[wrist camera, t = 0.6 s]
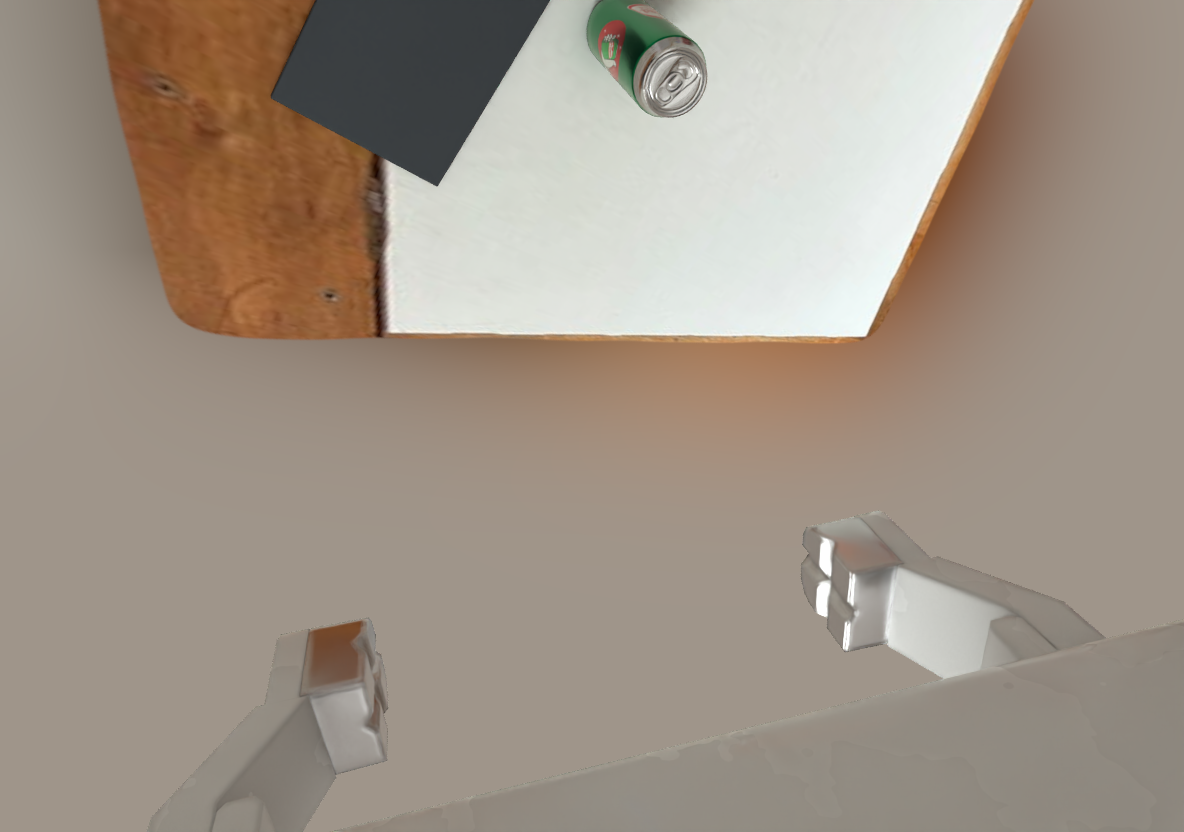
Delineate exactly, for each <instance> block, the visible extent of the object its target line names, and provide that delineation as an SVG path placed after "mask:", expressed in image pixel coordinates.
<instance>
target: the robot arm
mask: <svg viewBox="0 0 1184 832" xmlns="http://www.w3.org/2000/svg"><path fill="white" fill-rule="evenodd" d="M802 545H803V546H804V548H805V549H806V550H807V552H808V553H809V554H808V555H807V557H806V558H805V560H804V561H803V562H802V564H801V580H802V585H803V589H804V593H805V595H806V597H807V599H808V602H809V603H810V605H811V606H812V608H813V609H814V611H815V612H817V613H819V614H821V615H823V616H825V617H828V619H827V629H828V630H829V631H830V633H831V634H832V636H833V637H834V638H835V639H836V641H837V642H838V644H839V645H840V646H841V648H842V649H843V651H844V652H849V651H853V650H858V649H863V648H868V647H873V646H877V645H882V644H887V643H888V646H889V647H891V648H892V649H894V650H896V651H897V652H899V653H901V654H903V655H905V656H906V657H908V658H910V659H911V660H913V661H915V662H916V663H918V664H920V665H922V666H923V667H925V668H927V669H928V670H930V671H932V672H933V673H935V674H937V675H938V676H940V677H942V678H943V679H942V680H937V681H934V682H930V683H926V684H922V685H918V686H914V687H910V688H906V689H902V690H898V691H894V692H890V693H886V694H882V695H878V696H874V697H870V698H866V699H862V700H858V701H854V702H850V703H846V704H842V705H838V706H834V707H830V708H826V709H821V710H817V711H813V712H809V713H805V714H801V715H797V716H794V717H789V718H785V719H781V720H778V721H773V722H769V723H765V724H761V725H757V726H753V727H749V728H745V729H741V730H737V731H733V732H729V733H725V734H721V735H717V736H713V737H709V738H705V739H701V740H697V741H693V742H689V743H686V744H681V745H677V746H673V747H669V748H665V749H661V750H657V751H654V752H650V753H645V754H642V755H637V756H633V757H629V758H625V759H621V760H617V761H613V762H609V763H606V764H601V765H597V766H594V767H589V768H585V769H581V770H577V771H574V772H569V773H565V774H561V775H557V776H553V777H549V778H545V779H541V780H537V781H533V782H529V783H525V784H521V785H517V786H513V787H509V788H505V789H501V790H497V791H493V792H489V793H485V794H481V795H477V796H473V797H469V798H465V799H461V800H457V801H453V802H449V803H445V804H441V805H437V806H432V807H429V808H424V809H421V810H416V811H412V812H408V813H405V814H400V815H396V816H393V817H388V818H384V819H380V820H376V821H372V822H368V823H364V824H360V825H356V826H352V827H348V828H344V829H341V830H337V831H332V832H1184V619H1182V620H1178V621H1174V622H1171V623H1166V624H1162V625H1158V626H1154V627H1150V628H1146V629H1143V630H1138V631H1134V632H1130V633H1126V634H1123V635H1118V636H1114V637H1110V638H1105V637H1104V636H1103V635H1102V634H1101V633H1099V632H1098V631H1097V630H1096V629H1095V628H1094V627H1093V626H1091V625H1090V624H1089V623H1088V622H1087V621H1085V620H1084V619H1083V618H1082V617H1081V616H1080V615H1079V614H1077V613H1076V612H1075V611H1074V610H1073V609H1072V608H1070V607H1069V606H1068V605H1067V604H1066V603H1065V602H1063V601H1060V600H1058V599H1055V598H1052V597H1049V596H1046V595H1044V594H1041V593H1038V592H1035V591H1033V590H1030V589H1027V588H1024V587H1021V586H1018V585H1015V584H1013V583H1010V582H1008V581H1005V580H1002V579H999V578H996V577H994V576H991V575H988V574H985V573H982V572H980V571H977V570H974V569H971V568H969V567H966V566H963V565H960V564H957V563H954V562H952V561H949V560H946V559H943V558H941V557H933V558H930V557H929V556H928V555H927V554H926V553H925V552H924V551H923V550H922V549H921V548H920V547H919V546H918V545H917V544H916V543H915V542H914V541H913V540H912V539H911V538H910V537H909V536H908V535H907V534H906V533H905V532H904V531H903V530H902V529H901V528H899V526H897V525H896V524H895V523H894V522H893V521H892V520H891V519H890V518H889V517H888V516H887V515H886V514H885V513H883V512H880V511H875V512H870V513H866V514H862V515H857V516H854V517H852V518H847V519H843V520H838V521H833V522H828V523H824V524H819V525H814V526H810V527H806V529H805V531H804V533H803V544H802ZM375 644H376V634H375V631H374V628H373V624H372V621H371V620H370V619H369V618H365V619H359V620H354V621H348V622H342V623H337V624H332V625H326V626H321V627H315V628H311V629H307V630H301V631H296V632H291V633H286V634H281V636H280V637H279V638H278V640H277V643H276V648H275V653H274V659H273V663H272V669H271V673H270V678H269V684H268V689H267V694H266V699H265V704H264V705H261V706H257V707H255V708H254V709H253V710H252V711H251V712H250V714H249V715H247V717H246V718H245V719H244V720H243V721H242V722H241V723H240V724H239V725H238V726H237V727H236V728H235V729H234V730H233V731H232V733H231V734H230V735H229V736H228V737H227V738H226V739H225V740H224V741H223V742H222V743H221V744H220V745H219V746H218V748H216V749H215V751H214V752H213V753H212V754H211V755H210V756H209V757H208V758H207V759H206V760H205V761H204V762H203V763H202V764H201V766H200V767H199V768H198V769H197V770H196V771H195V772H194V773H193V774H192V775H191V776H190V777H189V778H188V779H187V780H186V781H185V782H184V783H183V785H182V786H181V787H180V788H179V789H178V790H177V791H176V792H175V793H174V794H173V795H172V796H171V797H170V798H169V799H168V800H167V801H166V803H165V804H164V805H163V806H162V807H161V808H160V809H159V810H158V811H157V812H156V813H155V814H154V815H153V816H152V817H151V820H150V823H149V826H148V830H147V832H303V830H304V829H305V827H306V825H307V824H308V822H309V821H310V819H311V817H312V816H313V814H314V813H315V811H316V809H317V808H318V806H319V804H320V803H321V801H322V799H323V798H324V796H325V795H326V793H327V791H328V790H329V788H330V787H331V785H332V783H333V782H334V780H335V779H336V776H335V775H336V774H340V773H344V772H348V771H351V770H355V769H359V768H363V767H366V766H370V765H374V764H378V763H381V762H385V761H387V744H388V743H387V742H388V739H387V738H388V728H387V725H386V721H385V717H384V713H385V711H386V710H387V709H388V692H387V681H386V675H385V669H384V664H383V660H382V656H381V654H380V653H378V652H377V651H375V646H376V645H375Z"/></svg>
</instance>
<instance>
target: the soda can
mask: <svg viewBox="0 0 1184 832" xmlns="http://www.w3.org/2000/svg"><path fill="white" fill-rule="evenodd" d="M587 41H588V45H589V48H590V50H591V52H592V54H593V55H594V56H595V57H596V59H597V60H598V61H599V62H600V63H601V64H602V65H603V66H604V67H605V69H606V70H607V71H608V72H609V73H610V74H611V75H612V76H613V78H614V79H615V80H616V81H617V82H618V83H619V84H620V85H621V86H622V88H623V89H624V90H625V91H626V92H627V93H628V94H629V95H630V97H631V98H632V99H633V100H634V101H635V102H636V103H637V104H638V105H639V107H640V108H641V109H642V110H644V111H645V112H646V113H648V114H650V115H652V116H655V117H668V118H669V117H677V116H680V115H683V114H685V113H687V112H688V111H689V110H691V109H692V108H693V107H694V106H695V105H696V104H697V103H698V102H699V100H700V99H701V97H702V95H703V93H704V91H705V87H706V83H707V69H706V61H705V57H704V54H703V52H702V50H701V49H700V47H699V46H698V45H697V44H696V43H695V42H694V41H693V40H692V39H691V38H689V37H688V36H687V35H686V34H684V33H683V32H682V31H681V30H679V29H678V28H677V27H676V26H674V25H673V24H672V23H671V22H670V21H668V20H667V19H666V18H665V17H663V16H662V15H661V14H660V13H658V12H657V11H656V10H655V9H653V8H652V7H651V6H650V5H648V4H647V3H646V2H645V1H644V0H601V1H600V2H599V3H598V4H597V6H596V7H595V8H594V10H593V11H592V13H591V15H590V18H589V21H588V25H587Z"/></svg>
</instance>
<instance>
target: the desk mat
mask: <svg viewBox="0 0 1184 832" xmlns="http://www.w3.org/2000/svg"><path fill="white" fill-rule="evenodd" d="M549 1H550V0H316V1H315V3H314V5H313V7H312V9H311V11H310V13H309V15H308V18H307V20H306V22H305V24H304V26H303V28H302V30H301V32H300V35H299V37H298V39H297V41H296V43H295V45H294V47H293V49H292V52H291V54H290V56H289V58H288V60H287V62H286V64H285V66H284V69H283V71H282V73H281V75H280V77H279V79H278V81H277V83H276V86H275V88H274V90H273V92H272V94H271V98H272V99H273V100H275V101H277V102H279V103H281V104H283V105H285V106H286V107H288V108H290V109H292V110H294V111H296V112H298V113H300V114H301V115H303V116H305V117H307V118H309V119H311V120H313V121H315V122H317V123H318V124H320V125H322V126H324V127H326V128H328V129H330V130H332V131H334V132H335V133H337V134H339V135H341V136H343V137H345V138H347V139H349V140H350V141H352V142H354V143H356V144H358V145H360V146H362V147H364V148H366V149H367V150H369V151H371V152H373V153H375V154H377V155H379V156H381V157H382V158H384V159H386V160H388V161H390V162H392V163H394V164H396V165H398V166H399V167H401V168H403V169H405V170H407V171H409V172H411V173H413V174H415V175H416V176H418V177H420V178H422V179H424V180H426V181H428V182H430V183H431V184H433V185H435V186H438V185H439V183H440V181H441V180H442V178H443V176H444V175H445V173H446V172H447V170H448V168H449V167H450V165H451V163H452V162H453V160H454V158H455V157H456V155H457V153H458V152H459V150H460V148H461V147H462V145H463V143H464V142H465V140H466V138H467V137H468V135H469V133H470V132H471V130H472V129H473V127H474V125H475V124H476V122H477V120H478V119H479V117H480V115H481V114H482V112H483V110H484V109H485V107H486V105H487V104H488V102H489V100H490V99H491V97H492V95H493V94H494V92H495V90H496V89H497V87H498V86H499V84H500V82H501V81H502V79H503V77H504V76H505V74H506V72H507V71H508V69H509V67H510V66H511V64H512V62H513V61H514V59H515V57H516V56H517V54H518V52H519V51H520V49H521V48H522V46H523V44H524V43H525V41H526V39H527V38H528V36H529V34H530V33H531V31H532V29H533V28H534V26H535V24H536V23H537V21H538V19H539V18H540V16H541V14H542V13H543V11H544V9H545V8H546V6H547V5H548V3H549Z"/></svg>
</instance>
